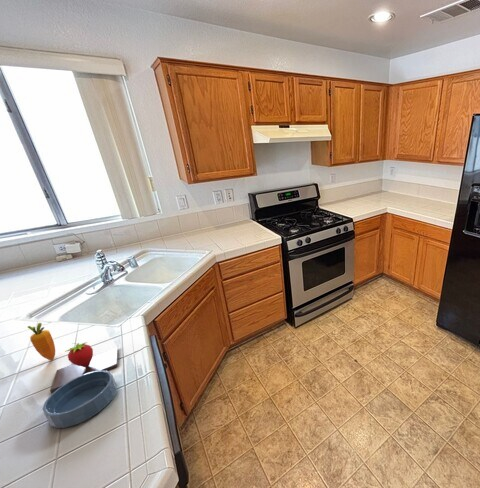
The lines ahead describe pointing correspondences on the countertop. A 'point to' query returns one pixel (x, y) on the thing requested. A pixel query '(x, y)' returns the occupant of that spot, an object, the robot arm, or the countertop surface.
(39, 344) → the carrot
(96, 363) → the board
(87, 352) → the strawberry
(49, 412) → the basin
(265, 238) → the countertop surface
